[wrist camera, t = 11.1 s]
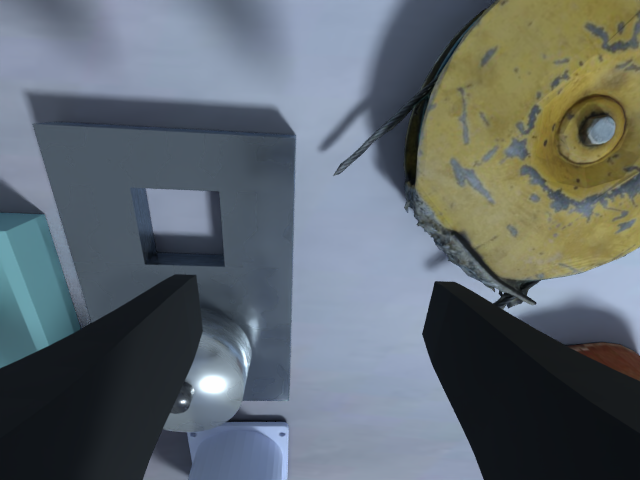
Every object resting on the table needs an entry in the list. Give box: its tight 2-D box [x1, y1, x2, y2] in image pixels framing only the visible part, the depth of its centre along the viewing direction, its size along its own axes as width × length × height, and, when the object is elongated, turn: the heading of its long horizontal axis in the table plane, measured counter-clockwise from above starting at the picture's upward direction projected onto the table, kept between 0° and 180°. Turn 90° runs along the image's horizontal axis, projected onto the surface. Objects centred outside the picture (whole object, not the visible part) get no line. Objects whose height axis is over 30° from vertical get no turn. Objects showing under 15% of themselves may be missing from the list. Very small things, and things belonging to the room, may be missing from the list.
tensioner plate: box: [33, 122, 296, 432], centre depth 17 cm, size 18×12×5 cm, turn 177°
